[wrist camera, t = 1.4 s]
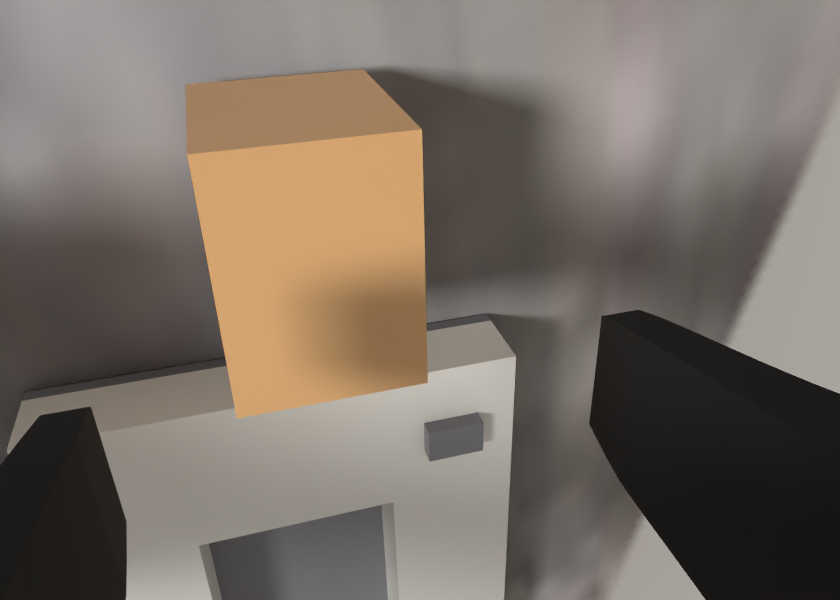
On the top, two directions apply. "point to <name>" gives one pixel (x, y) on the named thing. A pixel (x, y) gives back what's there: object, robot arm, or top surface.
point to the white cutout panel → (311, 480)
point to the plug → (311, 235)
